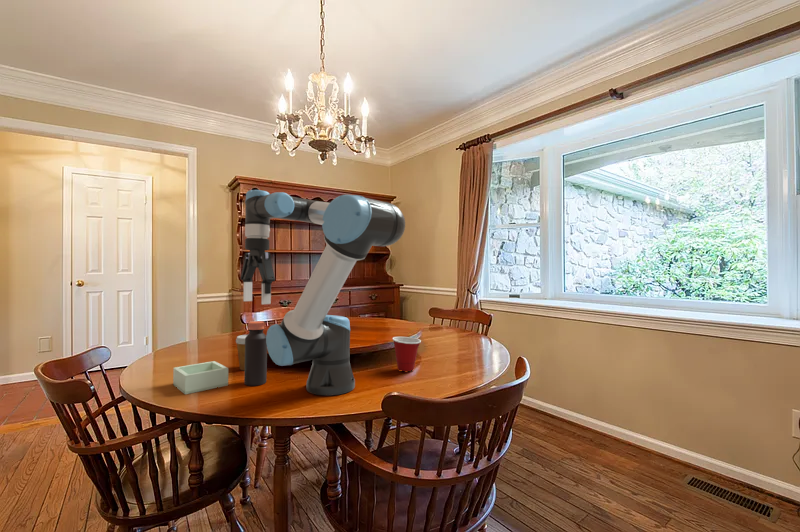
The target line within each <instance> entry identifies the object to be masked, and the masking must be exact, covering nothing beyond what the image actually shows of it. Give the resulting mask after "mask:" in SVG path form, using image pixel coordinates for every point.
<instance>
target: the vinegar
mask: <svg viewBox="0 0 800 532" xmlns="http://www.w3.org/2000/svg"><path fill="white" fill-rule="evenodd" d="M247 329H248V334H246V335H247V336H246V338H245V370H244V377H243V378H244V380H243V381H244V385H246V386H250V387H256V386H257V387H258V386H261V385H264V384H266V382H267V373H268V372H267V370H268V369H267V368H268V367H267V365H268V364H267V363H268V349H267V344H266V335H267V334H265V333H264V331H265V321H261V320H259V321H257V320H256V321H255V320H254V321H249V322H248V327H247Z"/></svg>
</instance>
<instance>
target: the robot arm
mask: <svg viewBox="0 0 800 532" xmlns="http://www.w3.org/2000/svg"><path fill="white" fill-rule="evenodd" d="M244 205H245V209H244V210H245V220H244V221H245V222H244V223H245V224H244V237H246V238H245V239H244V248H245V250H246V251H249V252H245V253H244V261H243V264H242V269H241V274H240V280H242V282H243V293H242V294H243V295H242V296H243V299H242V302H253V282H254V280H253V277H254V274H255V271H256V269H258V272H259V274H260V277H261V305H271V301H272V283H273V282H275V281H276V277H275V274H274V273H275V272H274V269H273V263H272V256H271V252H268V251H269V250H270V243H271V242H270V239H268V238H270V232H271V229H270V225H271V224H270V223H271V219H278V220H279V219H281V220H288V221H297V222H304V223H310V224H314V225H315V224H316V225H321V227H322V232H323V234H324V236H323V240H324V243H325V244H326V245H325V248H324V250H323V251H322V253H321V256H320V258H319V259H318V261H317V263H316V264H315V267H314V269H313V271H312V273H311V275H310V277H309V279H308V282H307V283H306V285H305V287H304V289H303V291H302V293H301V295H300V297H299V299H298V301H297V303H296V305H295V307H294V309H291V310H289V311H287V312H286V313H285V315H284V316H283V318H282V320H281V322H280V323H279V324H278V323H275V324H272V325H270V326H269V328H268V329H267V331H266V334H265V335H266V344H267V354H268V355H269V357H270V359H271V360H272V362H273V363H275V365H278V366H281V367H283V366H292V365H294V364H299V363H304V362H309V361H311V360H312V362H311V363H312V365H311V367H310V371H309V373H308V376H307V377H308V378H307V380H306V384H305V385H306V388H305V389H306V391H307V392H308V393H310V394H313V395H318V396H337V395H343V394H346V393H349V392H351V391H354V389H355V387H356V379H355V377H354V373H353V369H352V366H351V363H350V360H351V359H350V353H351V352H350V351H351V350H350V349H351V331H352V330H351V325H350V324H351V323H350V319H349V318H348V317H346V316H342V315H332V314H328V313H329V312H330V309H331V308H332V306H333V304H334V303H335V301H336V300H337V297H338V295H339V293H340V291H341V289H342V288H343V286H344V284H345V283H346V280H347V279H348V277H349V275H350V274H351V272H352V270H353V268H354V266H355V265H356V264H357V261H362V260H365V258H366V257H367V255H368V254H369V252H370V250H371V248H372V246H373V247H387V246H391V245H394V244H395V243H397V242H398V241H399V240H400V239H401V238H402V236H403V235H404V233H405V230H406V219H405V216H404V214H403V212H402V210H401V209H400V208H399V207H398V206H397V205H395V204H394V203H390V202H388V201H381V200H378V199H373V198H368V197H365V196H362V195H357V194H341V195H339V196H337V197H335V198H334V199H333V200H331V201H330V202H328V201H327V202H324V201H319V200H312V199H305V198H300V197H295V196H291V195H289V194H288V193H286V192H282V191H281V192H280V191H278V192H277V191H275V192H272V193H270V192H268V191H267V190H261V189H250V190H248V191H247V192H246V193H245V201H244ZM266 251H267V252H266Z"/></svg>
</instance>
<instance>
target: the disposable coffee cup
mask: <svg viewBox="0 0 800 532" xmlns="http://www.w3.org/2000/svg"><path fill="white" fill-rule="evenodd" d="M247 335H248V334H242V335H238V336H236V339H235V343H236V348H237V357H238V364H239V365H238V366H239V370H241V371H245V338H246V336H247Z"/></svg>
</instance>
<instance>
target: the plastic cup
mask: <svg viewBox="0 0 800 532" xmlns="http://www.w3.org/2000/svg"><path fill="white" fill-rule="evenodd" d="M392 341H393V344H394V345H393V346H394V347H393V348H394V351H395V352H394V353H395V360H396V366H397V370H398V369H399V370H402V371H411V370H413V369H415V363H416V360H417V356H418V349H419V346H420V344H421V342H422V340H421V339H419V338H415V337H411V336H393V337H392ZM413 371H414V370H413Z"/></svg>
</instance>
